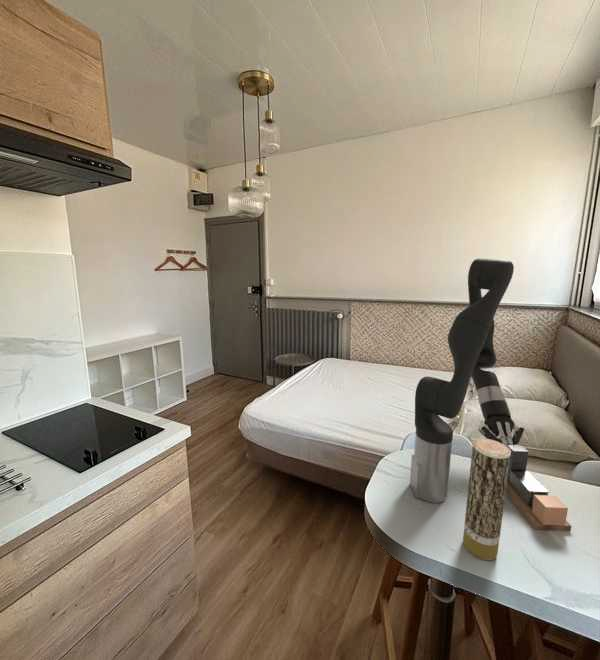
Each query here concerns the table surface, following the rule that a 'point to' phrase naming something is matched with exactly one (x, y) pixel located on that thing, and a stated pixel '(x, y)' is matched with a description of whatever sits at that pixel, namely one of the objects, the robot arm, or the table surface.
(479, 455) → the bark covered log
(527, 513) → the guide board
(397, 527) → the table surface
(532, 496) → the brushed grey metal block
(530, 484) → the outer sleeve
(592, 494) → the table surface
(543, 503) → the socket
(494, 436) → the robot arm
